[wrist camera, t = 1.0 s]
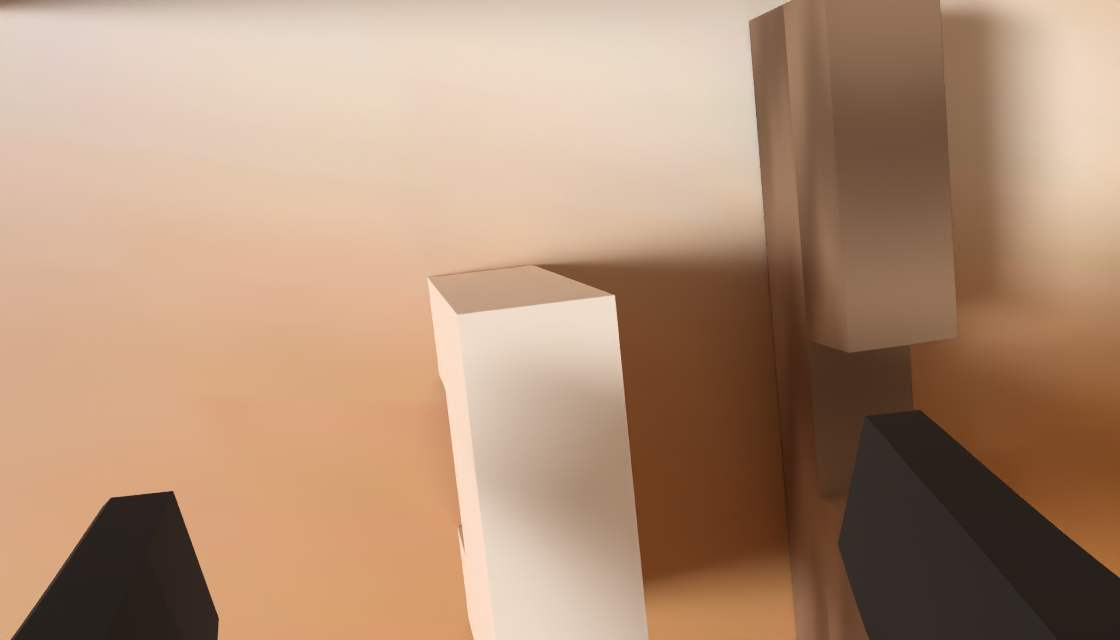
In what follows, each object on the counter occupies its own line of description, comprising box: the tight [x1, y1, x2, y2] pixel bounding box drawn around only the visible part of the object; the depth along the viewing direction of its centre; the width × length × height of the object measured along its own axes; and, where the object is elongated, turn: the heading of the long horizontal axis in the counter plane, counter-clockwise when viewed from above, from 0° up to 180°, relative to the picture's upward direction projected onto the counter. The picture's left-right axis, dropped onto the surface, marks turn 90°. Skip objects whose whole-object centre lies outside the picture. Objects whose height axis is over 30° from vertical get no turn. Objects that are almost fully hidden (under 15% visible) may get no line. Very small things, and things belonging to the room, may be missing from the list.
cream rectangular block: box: [427, 265, 648, 640], centre depth 20 cm, size 8×2×8 cm, turn 6°
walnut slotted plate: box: [749, 0, 958, 640], centre depth 23 cm, size 18×2×4 cm, turn 6°
